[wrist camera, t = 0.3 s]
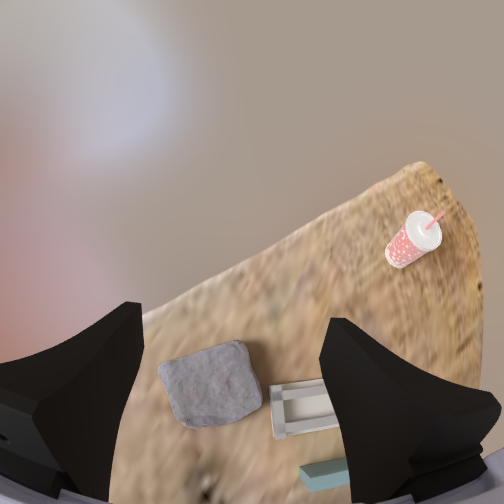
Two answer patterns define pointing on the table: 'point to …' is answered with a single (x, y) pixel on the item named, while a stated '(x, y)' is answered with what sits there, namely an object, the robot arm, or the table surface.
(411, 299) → the table surface
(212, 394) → the stone block
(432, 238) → the beverage cup
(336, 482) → the door panel
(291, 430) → the rectangular tray
